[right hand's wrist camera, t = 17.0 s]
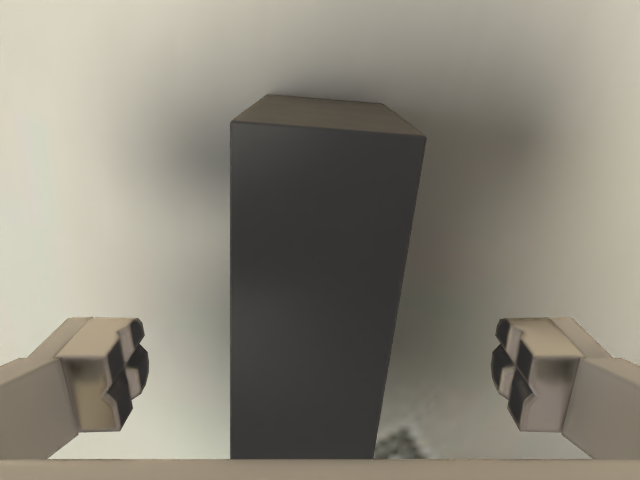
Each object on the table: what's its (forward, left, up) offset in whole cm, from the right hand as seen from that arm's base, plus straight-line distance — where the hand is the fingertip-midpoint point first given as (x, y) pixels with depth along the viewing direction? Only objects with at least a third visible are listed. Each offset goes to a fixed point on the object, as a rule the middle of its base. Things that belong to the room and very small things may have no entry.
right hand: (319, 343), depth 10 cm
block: (-2, +9, -13) cm, 16 cm away
